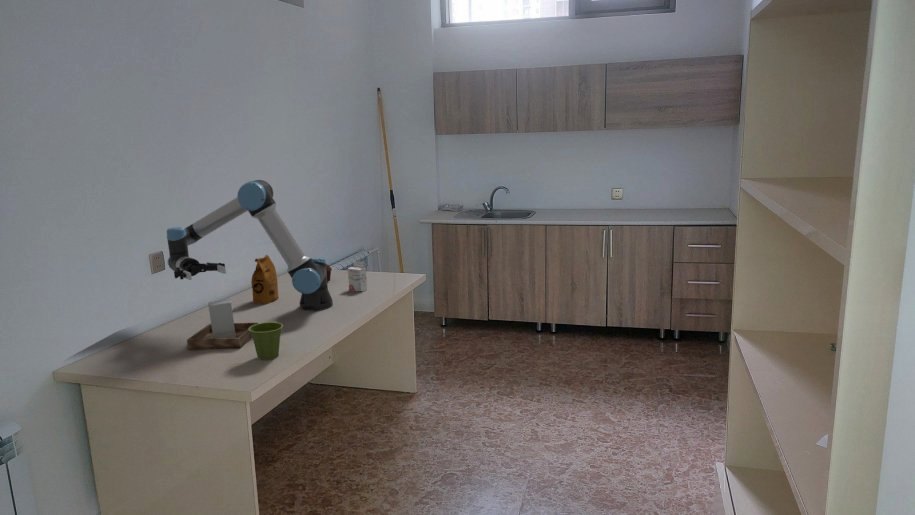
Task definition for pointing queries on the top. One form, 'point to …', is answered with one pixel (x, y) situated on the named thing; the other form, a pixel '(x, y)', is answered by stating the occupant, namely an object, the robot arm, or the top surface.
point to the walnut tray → (207, 341)
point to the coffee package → (264, 281)
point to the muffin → (328, 272)
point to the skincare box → (222, 319)
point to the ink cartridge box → (357, 277)
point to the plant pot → (266, 339)
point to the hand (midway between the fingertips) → (207, 273)
